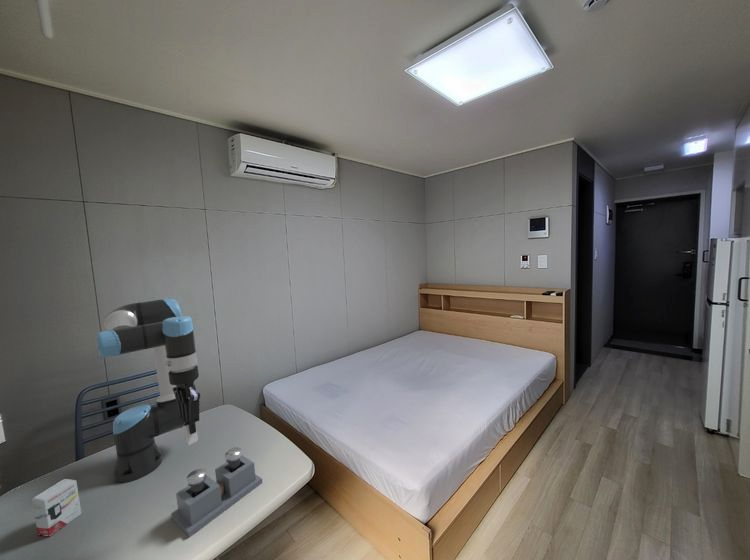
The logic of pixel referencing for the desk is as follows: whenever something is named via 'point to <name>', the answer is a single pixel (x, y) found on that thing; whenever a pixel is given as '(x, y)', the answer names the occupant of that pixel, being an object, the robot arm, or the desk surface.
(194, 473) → the knob
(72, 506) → the ink box
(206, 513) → the mount
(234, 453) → the knob
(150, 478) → the desk surface
